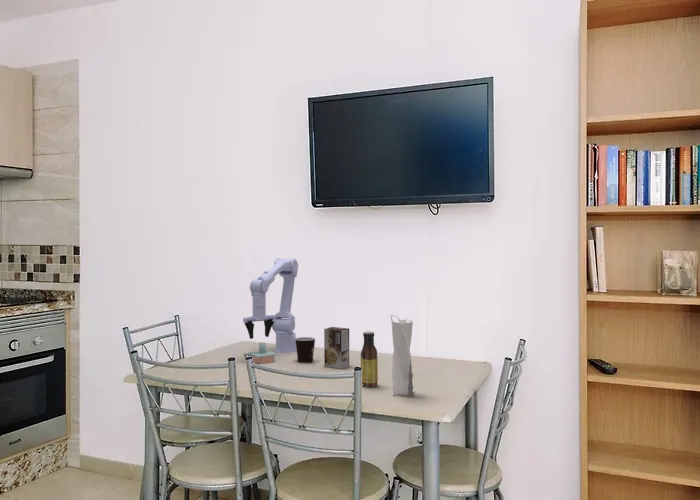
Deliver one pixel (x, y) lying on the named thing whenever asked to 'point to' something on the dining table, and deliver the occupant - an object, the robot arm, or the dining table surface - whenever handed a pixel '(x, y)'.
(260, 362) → the bowl
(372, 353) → the sauce bottle
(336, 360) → the cookie box
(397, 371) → the skyscraper
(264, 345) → the lid
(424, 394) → the dining table surface
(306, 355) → the coffee mug
